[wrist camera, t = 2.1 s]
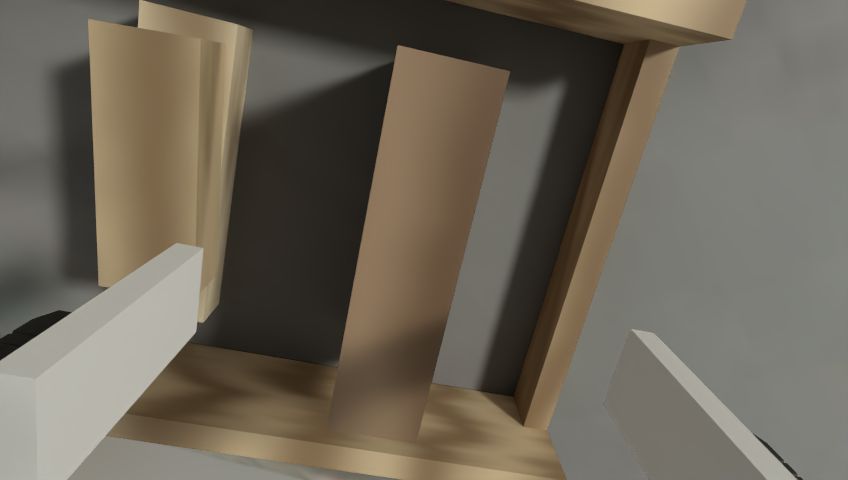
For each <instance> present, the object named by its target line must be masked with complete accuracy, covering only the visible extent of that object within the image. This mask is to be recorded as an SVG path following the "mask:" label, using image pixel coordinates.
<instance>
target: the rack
mask: <svg viewBox="0 0 848 480" xmlns="http://www.w3.org/2000/svg"><path fill="white" fill-rule="evenodd" d="M445 1H449V2H453V3H457V4H462V5H466V6H470V7H474V8H478V9H482V10H486V11H490V12H494V13H498V14H503V15H507V16H511V17H515V18H519V19H523V20H527V21H531V22H535V23H540V24H544V25H548V26H552V27H556V28H560V29H564V30H568V31H572V32H576V33H581V34H585V35H589V36H593V37H597V38H601V39H605V40H609V41H613V42H618V43H622V44H624V46H623V49H622V52H621V55H620V58H619V62H618V65H617V68H616V71H615V74H614V78H613V81H612V84H611V87H610V90H609V94H608V97H607V100H606V103H605V106H604V110H603V113H602V116H601V119H600V122H599V125H598V129H597V132H596V135H595V138H594V141H593V145H592V148H591V151H590V154H589V157H588V161H587V164H586V167H585V170H584V173H583V176H582V180H581V183H580V186H579V189H578V192H577V196H576V199H575V202H574V205H573V208H572V212H571V215H570V218H569V221H568V224H567V228H566V231H565V234H564V237H563V240H562V243H561V247H560V250H559V253H558V256H557V259H556V263H555V266H554V269H553V272H552V275H551V279H550V282H549V285H548V288H547V291H546V294H545V298H544V301H543V304H542V307H541V310H540V314H539V317H538V320H537V323H536V326H535V330H534V333H533V336H532V339H531V342H530V346H529V349H528V352H527V355H526V358H525V361H524V365H523V368H522V371H521V374H520V377H519V381H518V384H517V387H516V390H515V393H514V397H511V396H505V395H499V394H493V393H487V392H481V391H475V390H469V389H463V388H457V387H451V386H445V385H439V384H433V383H431V386H430V390H429V394H428V398H427V402H426V406H425V410H424V414H423V418H422V422H421V426H420V430H419V434H418V438H417V442H416V444H415V443H409V442H402V441H396V440H390V439H383V438H377V437H370V436H364V435H358V434H351V433H345V432H338V431H332V430H326V429H327V423H328V418H329V413H330V407H331V402H332V396H333V391H334V386H335V380H336V375H337V370H338V368H337V367H331V366H325V365H319V364H313V363H307V362H301V361H296V360H290V359H284V358H278V357H272V356H266V355H260V354H254V353H248V352H242V351H236V350H230V349H224V348H218V347H212V346H206V345H200V344H194V343H188V342H187V343H186V344H185V345H184V347H183V348H182V349H181V350H180V351H179V352H178V353H177V355H176V356H175V357H174V358H173V359H172V360H171V361H170V363H169V364H168V365H167V366H166V367H165V368H164V369H163V371H162V372H161V373H160V374H159V375H158V376H157V377H156V379H155V380H154V381H153V382H152V383H151V384H150V385H149V387H148V388H147V389H146V390H145V391H144V392H143V393H142V395H141V396H140V397H139V398H138V399H137V400H136V401H135V403H134V404H133V405H132V406H131V407H130V408H129V409H128V411H127V412H126V413H125V414H124V415H123V416H122V417H121V419H120V420H119V421H118V422H117V423H116V424H115V425H114V427H113V428H112V429H111V430H110V431H109V432H108V433H107V435H106V436H110V437H117V438H124V439H130V440H137V441H144V442H150V443H157V444H164V445H171V446H178V447H184V448H191V449H198V450H205V451H212V452H218V453H225V454H232V455H239V456H246V457H252V458H259V459H266V460H273V461H280V462H286V463H293V464H300V465H307V466H314V467H321V468H327V469H334V470H341V471H348V472H355V473H361V474H368V475H375V476H382V477H389V478H395V479H402V480H567V479H566V477H565V474H564V472H563V469H562V467H561V464H560V462H559V459H558V457H557V454H556V452H555V449H554V447H553V444H552V442H551V439H550V437H549V434H548V432H547V429H548V426H549V423H550V420H551V417H552V414H553V412H554V409H555V406H556V403H557V400H558V397H559V394H560V391H561V388H562V385H563V383H564V380H565V377H566V374H567V371H568V368H569V365H570V362H571V359H572V357H573V354H574V351H575V348H576V345H577V342H578V339H579V336H580V333H581V330H582V328H583V325H584V322H585V319H586V316H587V313H588V310H589V307H590V304H591V302H592V299H593V296H594V293H595V290H596V287H597V284H598V281H599V278H600V275H601V273H602V270H603V267H604V264H605V261H606V258H607V255H608V252H609V249H610V247H611V244H612V241H613V238H614V235H615V232H616V229H617V226H618V223H619V220H620V218H621V215H622V212H623V209H624V206H625V203H626V200H627V197H628V194H629V192H630V189H631V186H632V183H633V180H634V177H635V174H636V171H637V168H638V166H639V163H640V160H641V157H642V154H643V151H644V148H645V145H646V142H647V139H648V137H649V134H650V131H651V128H652V125H653V122H654V119H655V116H656V113H657V111H658V108H659V105H660V102H661V99H662V96H663V93H664V90H665V87H666V84H667V82H668V79H669V76H670V73H671V70H672V67H673V64H674V61H675V58H676V56H677V53H678V50H679V47H680V46H687V45H694V44H702V43H709V42H717V41H724V40H731V39H733V36H734V33H735V31H736V28H737V25H738V22H739V20H740V17H741V14H742V12H743V9H744V6H745V4H746V1H747V0H445Z"/></svg>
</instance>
